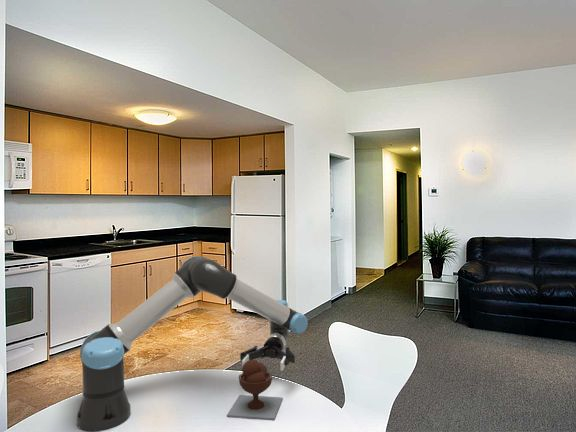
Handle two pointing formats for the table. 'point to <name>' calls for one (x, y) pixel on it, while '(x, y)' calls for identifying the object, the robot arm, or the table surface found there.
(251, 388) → the ice cream bowl
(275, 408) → the slate mat
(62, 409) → the table surface
